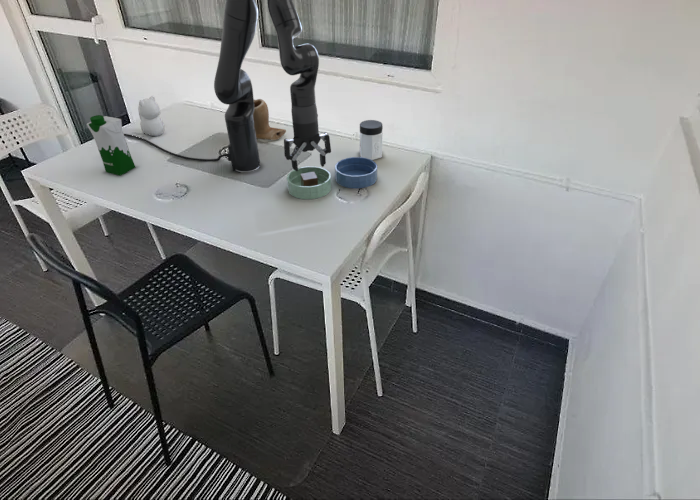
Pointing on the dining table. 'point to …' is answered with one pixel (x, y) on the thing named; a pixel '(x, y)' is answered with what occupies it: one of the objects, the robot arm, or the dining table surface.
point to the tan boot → (264, 122)
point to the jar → (371, 139)
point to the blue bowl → (356, 172)
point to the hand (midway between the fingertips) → (309, 167)
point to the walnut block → (309, 179)
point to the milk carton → (111, 144)
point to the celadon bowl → (309, 191)
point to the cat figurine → (150, 117)
